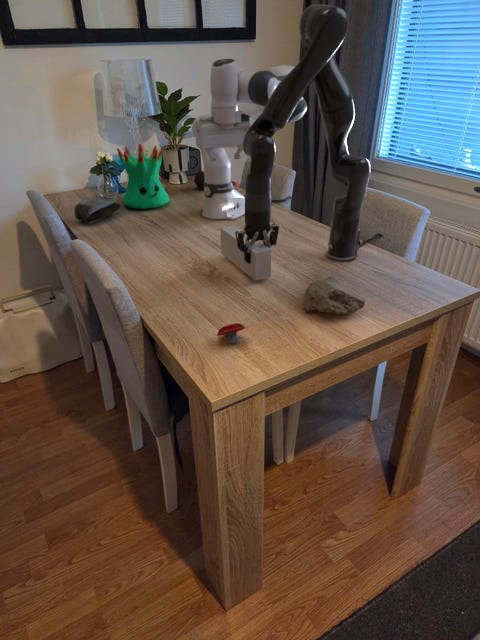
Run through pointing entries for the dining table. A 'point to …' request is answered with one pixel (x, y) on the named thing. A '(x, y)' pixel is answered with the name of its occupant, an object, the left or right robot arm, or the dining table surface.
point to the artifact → (331, 297)
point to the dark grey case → (95, 209)
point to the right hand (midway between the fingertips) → (257, 260)
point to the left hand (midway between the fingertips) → (225, 160)
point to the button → (231, 331)
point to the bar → (229, 248)
